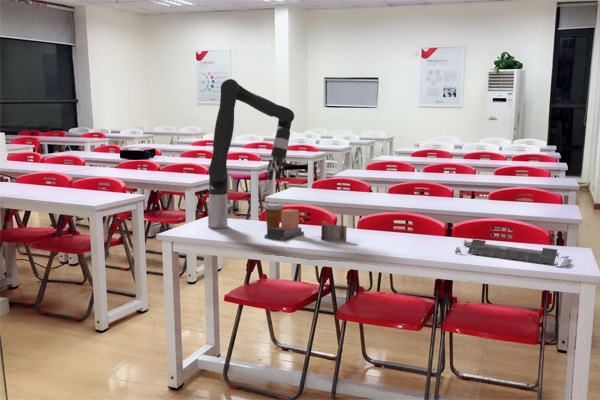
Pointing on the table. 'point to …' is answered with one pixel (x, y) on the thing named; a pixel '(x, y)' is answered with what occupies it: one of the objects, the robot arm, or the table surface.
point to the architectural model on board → (333, 232)
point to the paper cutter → (513, 252)
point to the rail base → (283, 233)
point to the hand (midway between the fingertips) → (273, 179)
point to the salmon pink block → (289, 219)
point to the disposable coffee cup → (273, 214)
